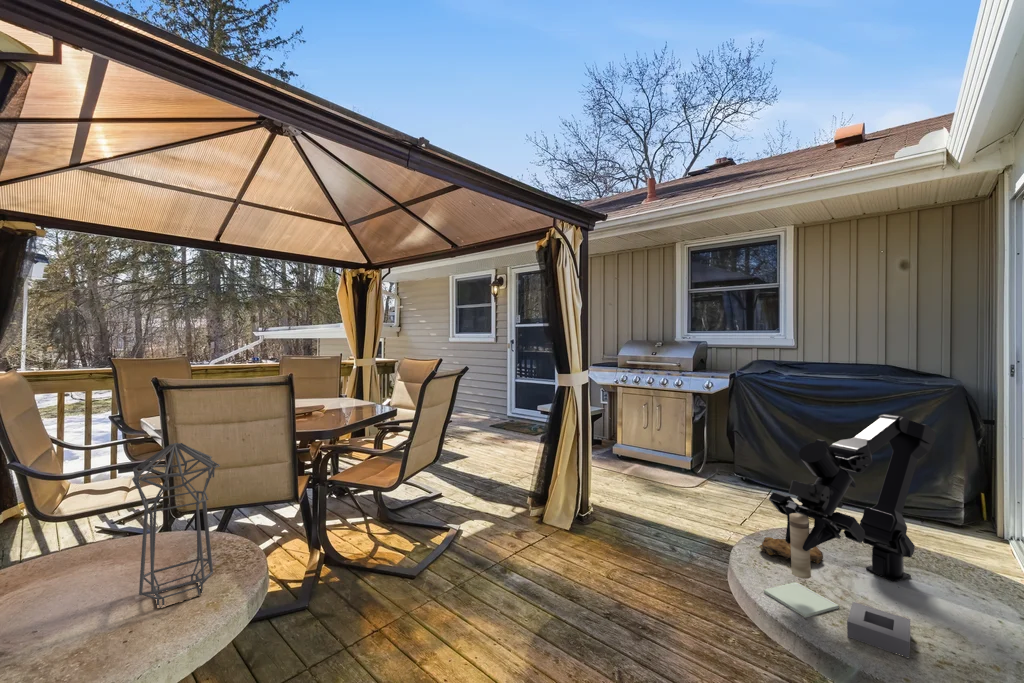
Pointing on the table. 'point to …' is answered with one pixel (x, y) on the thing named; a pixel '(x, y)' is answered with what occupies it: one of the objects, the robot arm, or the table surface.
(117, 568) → the table surface
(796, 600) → the mat
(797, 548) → the plug
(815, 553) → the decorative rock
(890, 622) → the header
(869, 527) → the robot arm
